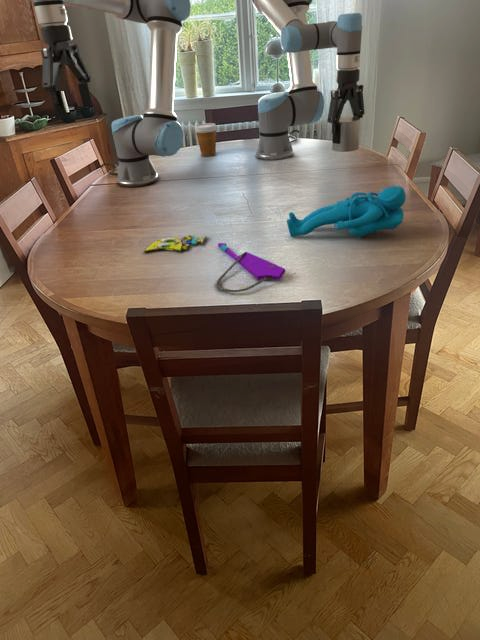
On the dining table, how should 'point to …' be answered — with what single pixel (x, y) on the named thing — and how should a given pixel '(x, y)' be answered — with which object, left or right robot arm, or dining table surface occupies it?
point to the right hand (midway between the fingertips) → (345, 140)
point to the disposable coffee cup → (206, 138)
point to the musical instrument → (252, 267)
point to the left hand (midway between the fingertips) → (75, 112)
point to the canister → (348, 134)
